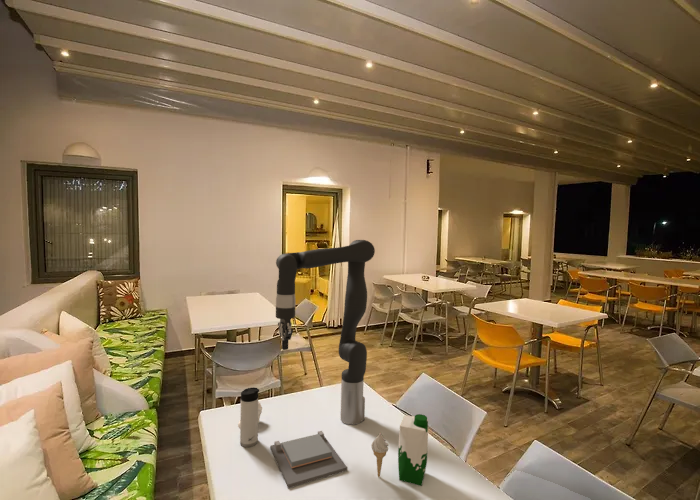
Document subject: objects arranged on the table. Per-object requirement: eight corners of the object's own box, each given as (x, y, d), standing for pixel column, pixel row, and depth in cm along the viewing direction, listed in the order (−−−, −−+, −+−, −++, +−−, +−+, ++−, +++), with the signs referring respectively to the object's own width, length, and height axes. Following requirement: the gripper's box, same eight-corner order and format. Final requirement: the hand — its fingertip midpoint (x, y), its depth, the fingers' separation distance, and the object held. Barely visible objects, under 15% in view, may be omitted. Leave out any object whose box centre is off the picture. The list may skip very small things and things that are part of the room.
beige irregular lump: (263, 399, 150) (246, 415, 139) (264, 418, 151) (247, 436, 140) (249, 396, 152) (232, 413, 140) (250, 415, 153) (233, 433, 142)
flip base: (322, 436, 140) (322, 427, 139) (347, 470, 120) (347, 460, 120) (270, 448, 131) (270, 439, 131) (288, 488, 111) (288, 477, 111)
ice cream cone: (369, 471, 120) (370, 427, 119) (386, 471, 120) (387, 426, 119) (371, 483, 114) (373, 436, 113) (389, 482, 115) (390, 436, 114)
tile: (318, 433, 134) (331, 451, 124) (318, 439, 135) (331, 457, 124) (281, 442, 128) (291, 462, 117) (281, 448, 128) (291, 468, 118)
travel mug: (253, 448, 131) (254, 394, 130) (236, 446, 132) (237, 392, 131) (261, 439, 137) (262, 386, 136) (245, 436, 138) (245, 384, 137)
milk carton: (424, 488, 112) (426, 425, 111) (395, 481, 115) (397, 419, 114) (427, 471, 121) (430, 412, 120) (400, 464, 124) (402, 407, 123)
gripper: (300, 308, 137) (299, 353, 138) (290, 301, 149) (289, 343, 150) (280, 309, 134) (280, 355, 135) (271, 302, 146) (271, 345, 147)
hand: (284, 349), depth 142 cm, fingers closed
